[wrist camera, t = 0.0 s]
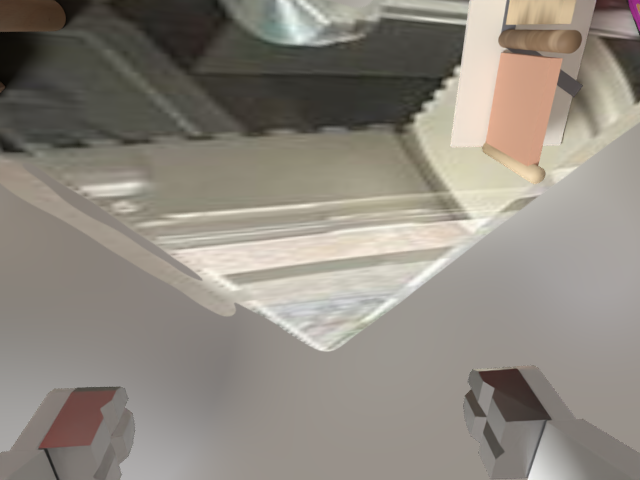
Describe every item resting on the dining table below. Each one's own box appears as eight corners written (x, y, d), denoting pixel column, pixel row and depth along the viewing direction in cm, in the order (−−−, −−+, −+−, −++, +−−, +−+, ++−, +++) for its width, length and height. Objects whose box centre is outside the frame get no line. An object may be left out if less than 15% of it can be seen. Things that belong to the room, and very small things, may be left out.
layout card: (482, -97, 46) (484, -98, 45) (626, -94, 47) (629, -95, 46) (450, 146, 57) (451, 147, 57) (565, 144, 58) (567, 145, 58)
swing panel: (498, 52, 52) (554, 59, 41) (513, 52, 52) (573, 59, 41) (481, 154, 57) (527, 184, 46) (494, 153, 57) (543, 183, 46)
